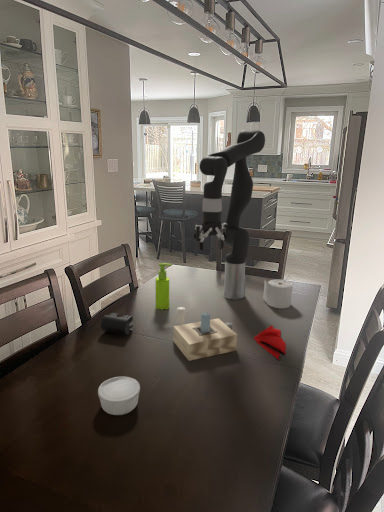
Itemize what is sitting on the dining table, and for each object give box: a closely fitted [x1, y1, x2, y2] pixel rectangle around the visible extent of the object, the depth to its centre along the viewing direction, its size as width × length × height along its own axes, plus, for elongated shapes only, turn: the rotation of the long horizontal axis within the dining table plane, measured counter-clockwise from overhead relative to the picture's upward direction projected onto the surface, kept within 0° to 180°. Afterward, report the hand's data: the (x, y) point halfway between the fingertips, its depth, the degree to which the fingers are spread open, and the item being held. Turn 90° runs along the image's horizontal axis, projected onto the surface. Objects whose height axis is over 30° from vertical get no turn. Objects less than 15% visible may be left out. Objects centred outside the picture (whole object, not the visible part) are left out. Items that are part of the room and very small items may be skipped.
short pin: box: [223, 321, 233, 330], centre depth 141 cm, size 3×3×5 cm
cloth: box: [253, 325, 287, 362], centre depth 139 cm, size 26×14×2 cm, turn 162°
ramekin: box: [97, 376, 141, 416], centre depth 103 cm, size 11×11×5 cm
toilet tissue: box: [262, 278, 293, 309], centre depth 171 cm, size 11×12×10 cm
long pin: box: [200, 312, 211, 334], centre depth 133 cm, size 3×3×12 cm
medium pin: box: [176, 306, 186, 326], centre depth 148 cm, size 3×3×8 cm
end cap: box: [100, 312, 134, 336], centre depth 142 cm, size 10×7×7 cm
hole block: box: [172, 317, 238, 362], centre depth 134 cm, size 18×14×6 cm
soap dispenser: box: [155, 262, 173, 311], centre depth 164 cm, size 6×7×20 cm
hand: (210, 249), depth 152 cm, fingers open, 8 cm apart
